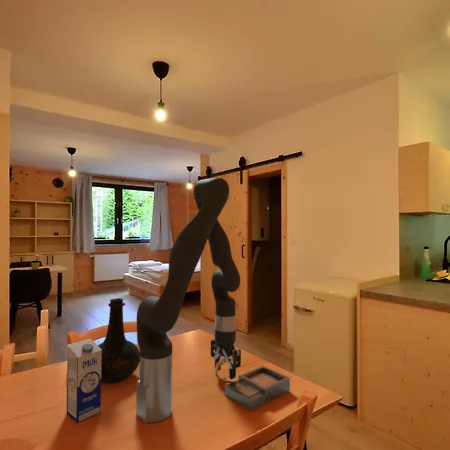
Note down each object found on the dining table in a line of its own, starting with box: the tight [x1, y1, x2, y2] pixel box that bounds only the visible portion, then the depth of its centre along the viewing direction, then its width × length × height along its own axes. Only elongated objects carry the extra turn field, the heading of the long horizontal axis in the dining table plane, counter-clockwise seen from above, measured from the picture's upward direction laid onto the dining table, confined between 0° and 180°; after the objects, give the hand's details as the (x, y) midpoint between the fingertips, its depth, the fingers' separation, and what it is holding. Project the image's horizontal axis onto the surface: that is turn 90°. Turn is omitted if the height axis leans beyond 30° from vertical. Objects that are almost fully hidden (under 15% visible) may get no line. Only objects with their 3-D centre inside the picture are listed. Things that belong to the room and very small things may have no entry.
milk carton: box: [66, 338, 102, 424], centre depth 91 cm, size 7×7×20 cm
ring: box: [214, 357, 233, 383], centre depth 111 cm, size 7×3×8 cm, turn 97°
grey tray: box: [224, 365, 291, 412], centre depth 103 cm, size 18×12×4 cm, turn 130°
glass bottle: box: [97, 297, 140, 384], centre depth 113 cm, size 18×18×28 cm
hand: (224, 374), depth 111 cm, fingers open, 7 cm apart
